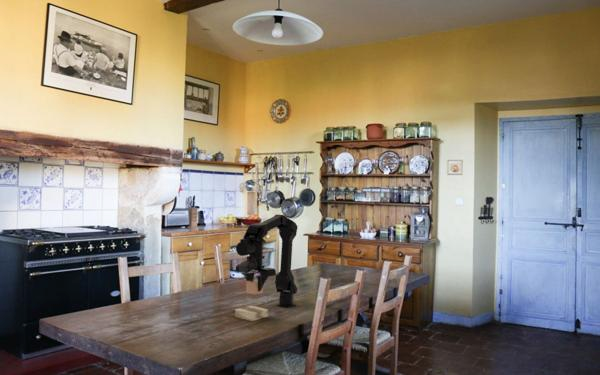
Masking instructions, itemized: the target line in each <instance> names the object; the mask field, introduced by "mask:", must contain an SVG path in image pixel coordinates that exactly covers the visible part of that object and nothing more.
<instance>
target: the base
mask: <svg viewBox="0 0 600 375" xmlns="http://www.w3.org/2000/svg"><path fill="white" fill-rule="evenodd" d="M234 317H235V318H238V319H243V320H247V321H250V322H253V321H257V320H261V319H265V318H268V317H269V309H267V308H263V307H259V306H255V305H249V306H244V307H240V308H236V309H234Z"/></svg>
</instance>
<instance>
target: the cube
mask: <svg viewBox="0 0 600 375" xmlns="http://www.w3.org/2000/svg"><path fill="white" fill-rule="evenodd" d="M246 293H247V294H251V295H258V294H263V293H264V286H263V287H262V289H261V291H258V279H253V280H250V281H246Z"/></svg>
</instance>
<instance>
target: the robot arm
mask: <svg viewBox="0 0 600 375" xmlns="http://www.w3.org/2000/svg"><path fill="white" fill-rule="evenodd" d="M275 228H277V230H278V234H279V236H280V239H281V252H280V254H281V255H280V270H279V272H278V274H277V273H276V272H277V271H276V268H272V267H265V265H263V259H265V256H264V255H263V253H264V249H263V248H264V244H265V243H266V242H267V241H266V240H265V239H264V238H265V237H266V236H267V235H268V233H269V231H271V230H273V229H275ZM297 231H298V225H297V223H296V222H295V221H294V220H292V219H290V218H288V217H287V216H286V215H285V214H274V216H272V217H270V218H268V219H266V220H264V221H263V222H262V221H261V222H257V223H256V222H255V223H250V224H249V225H248V227H247V229H246V231H245V233H244V235H243V237H242V238H241V239H240V240H239V242H238V243H237V244H236V247H235V250H236V254H237V255H238V256H240V257H244V256H247V257H246V260H244V261H242V262H240V263H239V264H237V265H236V267H235V272H236V273H240V274H241V275H242V276H244V279H245V280H246V282H247V281H250V280H255V279H254V278H257V279H256V280H258V291H261V289H262V287H263V288H264V285H265V282H266V281H267V280H268V278H269V277H274V276H275V281H274V284H275V289H276V293H279V300H278V301H279V303H277V304H276V306H278V307H284V308H290V307H294V306H297V304H296V303H294V295H296V294H297V292H298V287H297V285H296V284H295V277H294V275H293V273H292V270H291V269H292V256H293V253H292V252H293V240H294V239H295V237H296V236H297V233H298V232H297ZM256 273H257V274H258V275H256V276H255V274H256Z"/></svg>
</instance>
